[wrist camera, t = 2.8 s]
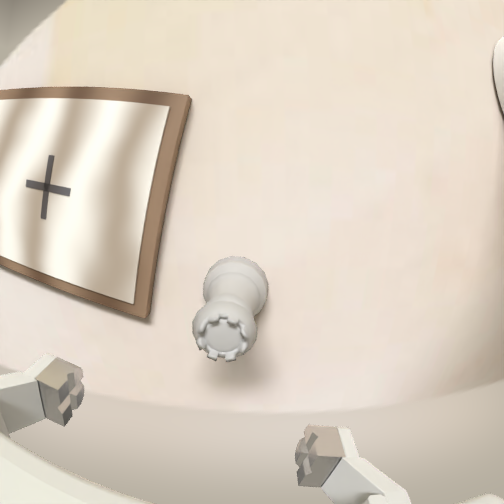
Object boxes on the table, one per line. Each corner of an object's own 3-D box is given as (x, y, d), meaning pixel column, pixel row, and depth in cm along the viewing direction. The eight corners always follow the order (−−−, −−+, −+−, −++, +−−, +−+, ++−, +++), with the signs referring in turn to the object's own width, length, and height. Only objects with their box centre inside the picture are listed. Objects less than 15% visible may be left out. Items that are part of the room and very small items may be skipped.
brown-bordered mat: (191, 98, 19) (187, 94, 18) (149, 313, 23) (144, 320, 22) (3, 92, 19) (-5, 90, 18) (-16, 251, 23) (-24, 254, 21)
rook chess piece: (200, 258, 22) (166, 300, 14) (264, 250, 21) (264, 291, 14) (210, 316, 23) (186, 379, 15) (271, 311, 22) (273, 374, 15)
